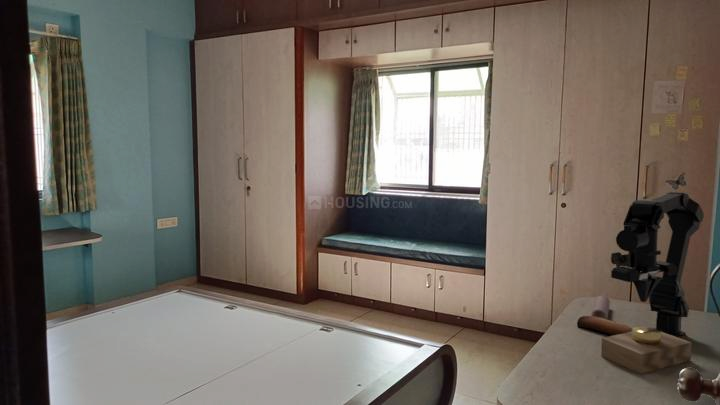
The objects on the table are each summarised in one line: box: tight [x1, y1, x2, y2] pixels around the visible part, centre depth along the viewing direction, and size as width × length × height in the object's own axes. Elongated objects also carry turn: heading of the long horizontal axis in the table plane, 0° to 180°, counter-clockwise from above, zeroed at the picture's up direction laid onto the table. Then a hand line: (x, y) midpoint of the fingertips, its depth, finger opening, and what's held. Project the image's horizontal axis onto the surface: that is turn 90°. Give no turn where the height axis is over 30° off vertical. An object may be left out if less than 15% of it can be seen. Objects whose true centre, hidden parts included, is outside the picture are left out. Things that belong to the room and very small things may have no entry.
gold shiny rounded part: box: [631, 326, 661, 345], centre depth 134 cm, size 7×7×7 cm
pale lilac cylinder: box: [590, 295, 611, 320], centre depth 169 cm, size 5×5×18 cm
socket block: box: [601, 331, 692, 375], centre depth 134 cm, size 18×12×5 cm, turn 112°
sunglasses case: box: [576, 315, 633, 336], centre depth 153 cm, size 18×7×7 cm
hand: (643, 301), depth 140 cm, fingers closed
